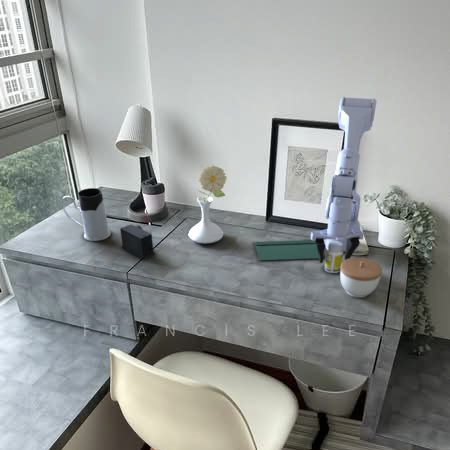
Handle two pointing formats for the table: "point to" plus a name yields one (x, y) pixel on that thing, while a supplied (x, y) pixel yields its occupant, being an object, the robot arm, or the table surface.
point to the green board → (287, 250)
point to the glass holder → (91, 214)
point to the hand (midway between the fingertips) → (333, 261)
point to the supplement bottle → (334, 257)
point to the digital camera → (137, 240)
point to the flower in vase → (206, 229)
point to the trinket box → (360, 276)
